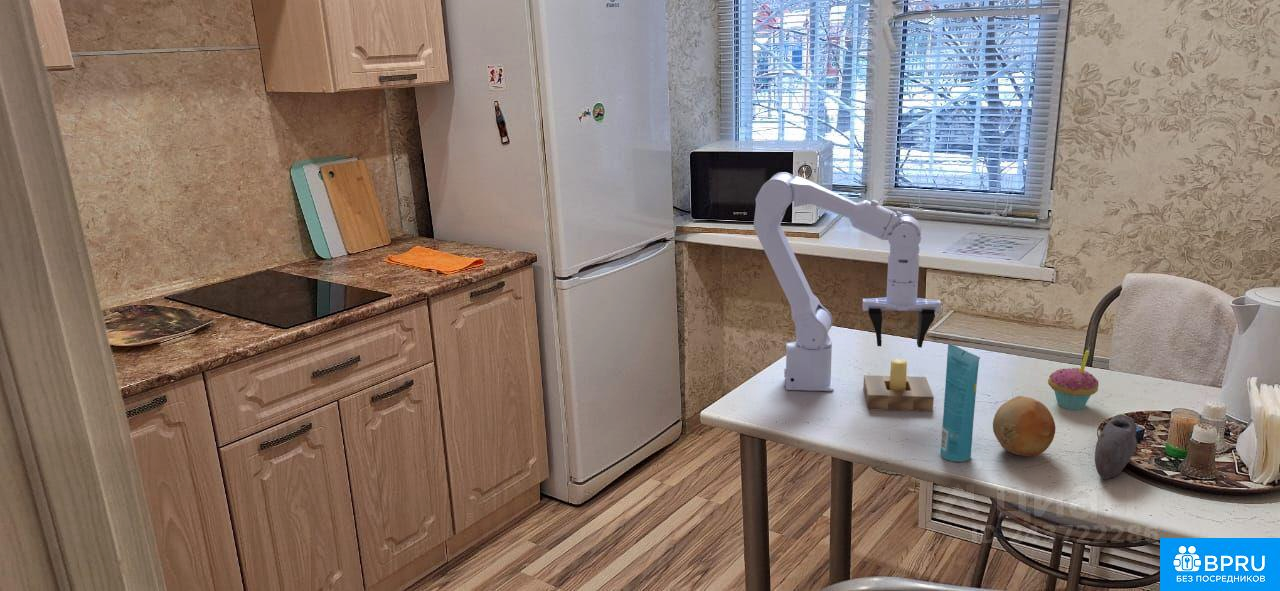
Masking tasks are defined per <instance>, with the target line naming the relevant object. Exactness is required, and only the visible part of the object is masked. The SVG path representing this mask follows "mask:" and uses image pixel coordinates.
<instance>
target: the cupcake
mask: <svg viewBox="0 0 1280 591" xmlns="http://www.w3.org/2000/svg"><path fill="white" fill-rule="evenodd" d="M1090 349H1091V347H1090V346H1088V349H1087V350H1085V352H1084V355H1083V359H1082V362H1081V365H1080V368H1079V367H1072V368H1070V367H1069V368H1060V369H1058V370H1055V371H1054V372H1052V373H1051V374H1050V375H1049V377H1048V379H1047V384H1048V385H1049V386H1050V388H1051V389H1052V390H1053V391H1054V394H1055V400H1056V404H1057V405H1058V406H1059V407H1061V408H1064V409H1067V410H1073V411H1074V410H1077V411H1079V410H1081V409H1082V410H1083V409H1084V408H1085V407H1086V405H1087V403H1088V402H1089V399H1090V398H1091V396H1092V395H1094V394H1096V393H1097V392H1098V389H1099V380H1097V378H1096V377H1095V376H1094V375H1093V374H1091V373H1090V372H1089V371H1086V370H1085V367H1086V364H1087V361H1088V357H1089V355H1090Z"/></svg>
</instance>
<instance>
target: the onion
mask: <svg viewBox="0 0 1280 591" xmlns="http://www.w3.org/2000/svg"><path fill="white" fill-rule="evenodd" d="M992 420H993V421H992V431H993V433H994V436H995V438H996V440H997V441H998V443H999V444H1000V445H1001V447H1002V448H1003V449H1004V450H1006V451H1007V452H1009V453H1012V454H1016V455H1019V456H1026V457H1035V456H1038V455H1040V454H1043V453H1044V452H1045V451H1047V449H1048V448H1049V447H1050V446H1051V444H1052V442H1053V440H1054V438H1055V434H1056V423H1055V420H1054V417H1053V415H1052V413H1051V411H1050V410H1049V408H1048V407H1047V406H1046V405H1045V404H1044V403H1042V402H1041V401H1039V400H1037V399H1035V398H1032V397H1029V396H1023V395H1018V396H1015V397H1013V398H1011V399H1009V400H1007V401H1006V402H1004V403H1003V404H1001V405H1000V406H999V407H998V409H997V410H996V412H995V414H994V417H993V419H992Z"/></svg>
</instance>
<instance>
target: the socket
mask: <svg viewBox="0 0 1280 591" xmlns="http://www.w3.org/2000/svg"><path fill="white" fill-rule="evenodd" d="M862 389H863V394H864V398H865V403H867V404H866V408H867V410H870V409H882V410H881V411H903V410H915V411H914V412H933V411H934V401H935V400H934V398H935V397H934V395H933V391H932V389H931V387H930V384H929V382H928V379H927V377H926V376H910V375H909V376H907V375H906V390H890V375H869V374H868V375H865V374H864V375H863V388H862ZM916 410H917V411H916ZM918 410H919V411H918Z"/></svg>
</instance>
